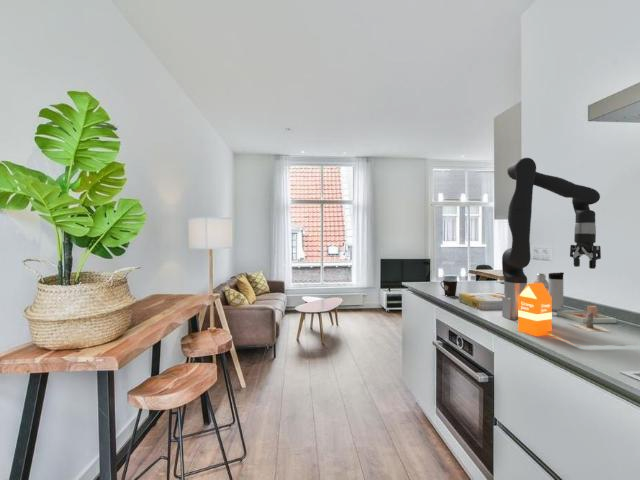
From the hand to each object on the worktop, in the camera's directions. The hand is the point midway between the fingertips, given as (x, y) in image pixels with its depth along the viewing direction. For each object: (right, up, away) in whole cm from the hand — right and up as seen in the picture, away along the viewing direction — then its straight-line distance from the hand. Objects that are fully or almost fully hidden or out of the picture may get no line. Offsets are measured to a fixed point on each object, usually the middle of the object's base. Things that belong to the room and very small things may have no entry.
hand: (584, 267), depth 143 cm
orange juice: (-36, -25, -18) cm, 47 cm away
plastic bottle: (-12, -24, +11) cm, 29 cm away
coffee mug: (-38, -24, +61) cm, 75 cm away
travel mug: (0, -24, +17) cm, 30 cm away
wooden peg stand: (-12, -25, -17) cm, 32 cm away
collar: (-2, -23, -3) cm, 24 cm away
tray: (-2, -24, -3) cm, 25 cm away
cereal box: (-26, -25, +32) cm, 48 cm away
